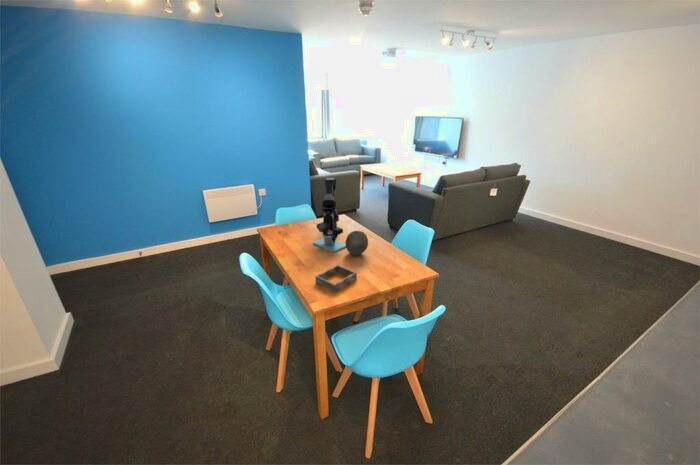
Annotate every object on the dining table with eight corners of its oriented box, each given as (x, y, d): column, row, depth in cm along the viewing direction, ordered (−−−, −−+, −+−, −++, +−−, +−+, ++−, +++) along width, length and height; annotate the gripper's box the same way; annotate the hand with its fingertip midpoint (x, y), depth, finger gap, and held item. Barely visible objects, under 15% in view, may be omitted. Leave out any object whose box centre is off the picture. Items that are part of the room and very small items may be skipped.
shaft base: (325, 238, 207) (325, 231, 205) (347, 246, 195) (347, 239, 193) (312, 244, 199) (312, 236, 197) (334, 252, 186) (334, 245, 185)
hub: (329, 239, 200) (329, 232, 199) (337, 241, 196) (337, 234, 194) (322, 242, 196) (322, 235, 194) (329, 245, 191) (329, 238, 189)
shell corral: (337, 271, 165) (337, 264, 163) (356, 279, 157) (356, 272, 155) (315, 283, 153) (315, 276, 152) (334, 292, 145) (334, 285, 144)
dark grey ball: (341, 256, 181) (340, 233, 176) (351, 247, 193) (351, 226, 187) (362, 261, 175) (362, 238, 170) (372, 252, 187) (372, 229, 181)
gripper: (309, 218, 190) (311, 240, 196) (330, 224, 178) (331, 248, 184) (322, 213, 197) (323, 235, 203) (343, 220, 186) (343, 243, 192)
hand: (329, 240), depth 196 cm, fingers closed on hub, 7 cm apart
